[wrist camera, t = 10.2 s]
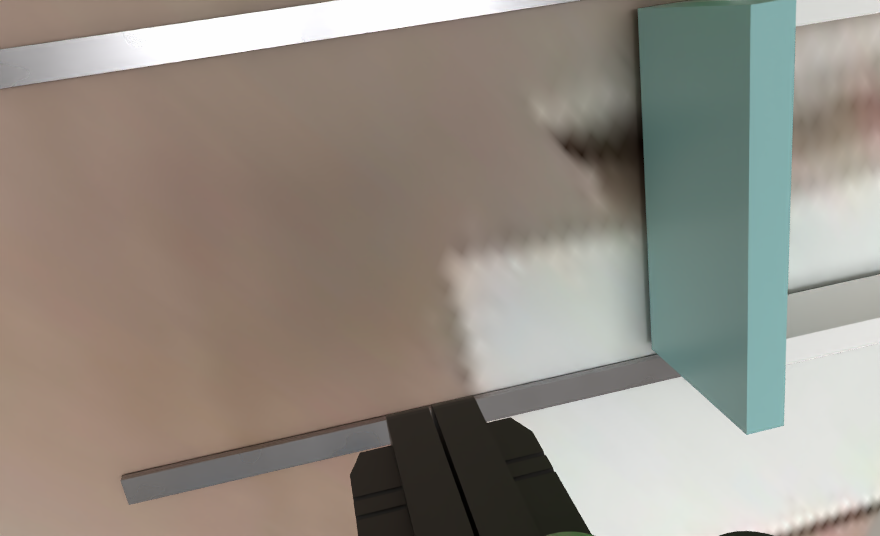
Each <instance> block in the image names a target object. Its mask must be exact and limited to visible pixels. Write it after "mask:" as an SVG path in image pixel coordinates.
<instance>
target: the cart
mask: <svg viewBox="0 0 880 536" xmlns="http://www.w3.org/2000/svg"><path fill="white" fill-rule="evenodd" d="M875 13H880V0H689V1H682V2H676V3H669V4H663V5H657V6H650V7H644V8H638V28H639V52H640V76H641V100H642V125H643V149H644V173H645V197H646V221H647V245H648V269H649V293H650V317H651V341H652V350H653V351H654V352H656V353H657V354H658V355H659V356H660V357H661V358H662V359H663V360H664V361H666V362H667V363H668V364H669V365H670V366H671V367H672V368H673V369H674V370H676V371H677V372H678V373H679V374H680V375H681V376H682V377H683V378H684V379H685V380H687V381H688V382H689V383H690V384H691V385H692V386H693V387H694V388H695V389H697V390H698V391H699V392H700V393H701V394H702V395H703V396H704V397H705V398H707V399H708V400H709V401H710V402H711V403H712V404H713V405H714V406H715V407H717V408H718V409H719V410H720V411H721V412H722V413H723V414H724V415H725V416H726V417H728V418H729V419H730V420H731V421H732V422H733V423H734V424H735V425H736V426H738V427H739V428H740V429H741V430H742V431H743V432H744V433H745V434H746V435H748V434H752V433H756V432H760V431H764V430H768V429H772V428H776V427H780V426H784V399H785V365H790V364H794V363H798V362H802V361H807V360H811V359H815V358H819V357H824V356H828V355H832V354H836V353H841V352H845V351H849V350H853V349H858V348H862V347H866V346H870V345H875V344H879V343H880V274H879V275H874V276H870V277H865V278H861V279H856V280H852V281H847V282H842V283H838V284H833V285H829V286H824V287H820V288H815V289H811V290H806V291H802V292H797V293H793V294H788V264H789V231H790V197H791V163H792V130H793V96H794V63H795V29H796V26H802V25H808V24H814V23H820V22H826V21H832V20H838V19H844V18H850V17H856V16H863V15H869V14H875Z"/></svg>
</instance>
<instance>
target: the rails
mask: <svg viewBox="0 0 880 536" xmlns="http://www.w3.org/2000/svg"><path fill="white" fill-rule="evenodd" d="M571 1H578V0H337V1H330V2H323V3H317V4H310V5H303V6H296V7H289V8H282V9H275V10H268V11H262V12H255V13H248V14H241V15H234V16H227V17H220V18H214V19H207V20H200V21H193V22H186V23H179V24H172V25H165V26H159V27H152V28H145V29H138V30H131V31H124V32H117V33H111V34H104V35H97V36H90V37H83V38H76V39H69V40H62V41H56V42H49V43H42V44H35V45H28V46H21V47H14V48H8V49H1V50H0V89H1V88H8V87H14V86H21V85H27V84H34V83H40V82H47V81H54V80H60V79H67V78H73V77H80V76H86V75H93V74H99V73H106V72H113V71H119V70H126V69H132V68H139V67H145V66H152V65H158V64H165V63H172V62H178V61H185V60H191V59H198V58H204V57H211V56H217V55H224V54H230V53H237V52H244V51H250V50H257V49H263V48H270V47H276V46H283V45H289V44H296V43H303V42H309V41H316V40H322V39H329V38H335V37H342V36H348V35H355V34H362V33H368V32H375V31H381V30H388V29H394V28H401V27H407V26H414V25H420V24H427V23H434V22H440V21H447V20H453V19H460V18H466V17H473V16H479V15H486V14H493V13H499V12H506V11H512V10H519V9H525V8H532V7H538V6H545V5H552V4H558V3H565V2H571ZM677 377H681V375H680V374H679V373H678V372H677V371H676V370H674V369H673V368H672V367H671V366H670V365H669V364H668V363H667V362H666V361H664V360H663V359H662V358H661V357H660V356H659V355H658V354H656V355H652V356H647V357H643V358H638V359H634V360H630V361H625V362H621V363H616V364H612V365H607V366H603V367H599V368H594V369H590V370H585V371H581V372H577V373H572V374H568V375H563V376H559V377H555V378H550V379H546V380H541V381H537V382H532V383H528V384H524V385H519V386H515V387H510V388H506V389H502V390H497V391H493V392H488V393H484V394H480V395H475V396H474V398H475V400H476V402H477V404H478V406H479V408H480V410H481V412H482V414H483V416H484V418H485V420H486V422H487V421H492V420H496V419H500V418H505V417H509V416H513V415H518V414H522V413H526V412H531V411H535V410H539V409H543V408H548V407H552V406H556V405H561V404H565V403H569V402H574V401H578V400H582V399H586V398H591V397H595V396H599V395H604V394H608V393H612V392H617V391H621V390H625V389H629V388H634V387H638V386H642V385H647V384H651V383H655V382H660V381H664V380H668V379H673V378H677ZM428 407H429V410H430V413H431V406H428ZM389 444H391V443H390V438H389V433H388V428H387V422H386V416H383V417H378V418H374V419H369V420H365V421H360V422H356V423H352V424H347V425H343V426H338V427H334V428H330V429H325V430H321V431H316V432H312V433H308V434H303V435H299V436H294V437H290V438H286V439H281V440H277V441H272V442H268V443H263V444H259V445H255V446H250V447H246V448H241V449H237V450H233V451H228V452H224V453H219V454H215V455H211V456H206V457H202V458H197V459H193V460H189V461H184V462H180V463H175V464H171V465H166V466H162V467H158V468H153V469H149V470H144V471H140V472H136V473H131V474H127V475H122V478H121V483H122V486H123V489H124V492H125V495H126V498H127V501H128V503H129V505H130V504H135V503H139V502H143V501H148V500H152V499H156V498H160V497H165V496H169V495H173V494H178V493H182V492H186V491H191V490H195V489H199V488H203V487H208V486H212V485H216V484H221V483H225V482H229V481H234V480H238V479H242V478H247V477H251V476H255V475H259V474H264V473H268V472H272V471H277V470H281V469H285V468H290V467H294V466H298V465H302V464H307V463H311V462H315V461H320V460H324V459H328V458H333V457H337V456H341V455H345V454H350V453H354V452H358V451H363V450H367V449H371V448H376V447H380V446H384V445H389Z"/></svg>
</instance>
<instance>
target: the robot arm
mask: <svg viewBox="0 0 880 536" xmlns="http://www.w3.org/2000/svg"><path fill="white" fill-rule="evenodd" d="M386 422H387V428H388V433H389V438H390V443H391V446H387V447H383V448H378V449H374V450H370V451H366V452H361V453H360V454H359V456H358V459H357V461H356V463H355V465H354V468H353V470H352V472H351V474H350V478H351V486H352V493H353V499H354V508H355V515H356V522H357V530H358V536H594V535H592V534H591V533H590V531H589V529H588V527H587V526H586V524H585V522H584V520H583V519H582V517H581V515H580V514H579V512H578V510H577V508H576V507H575V505H574V503H573V501H572V500H571V498H570V496H569V494H568V493H567V491H566V489H565V488H564V486H563V484H562V482H561V481H560V479H559V477H558V475H557V474H556V472H554V470H553V467H552V465H551V463H550V462H549V460H548V458H547V456H546V455H544V451H543V449H542V448H541V446H540V444H539V442H538V441H537V439H536V437H535V436H534V434H533V432H532V431H531V430H529V429H527V428H526V427H524V426H523V425H521V424H520V423H518V422H517V421H515V420H514V419H512V418H506V419H502V420H497V421H493V422H489V423H487V422H486V420H485V418H484V416H483V414H482V412H481V410H480V408H479V406H478V404H477V402H476V400H475V398H474V396H468V397H464V398H459V399H455V400H450V401H446V402H442V403H437V404H433V405H431V413H430V410H429V407H428V406H425V407H420V408H416V409H412V410H407V411H403V412H398V413H394V414H390V415H386ZM720 536H773V535H769V534H765V533H760V532H752V531H737V532H731V533H726V534H723V535H720Z"/></svg>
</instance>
